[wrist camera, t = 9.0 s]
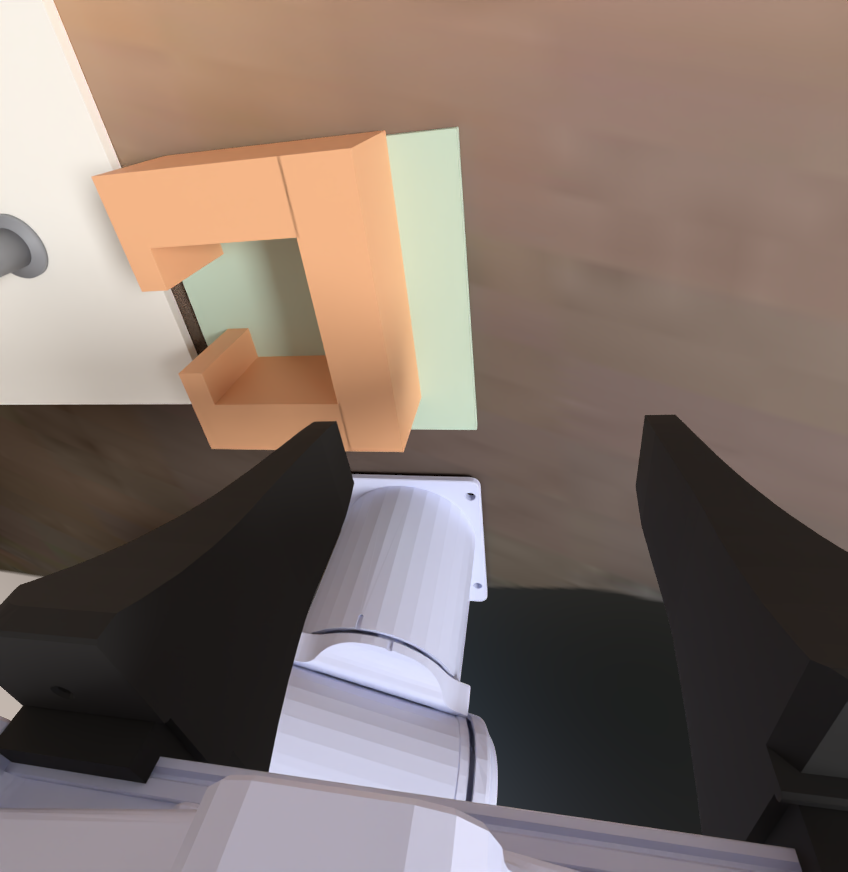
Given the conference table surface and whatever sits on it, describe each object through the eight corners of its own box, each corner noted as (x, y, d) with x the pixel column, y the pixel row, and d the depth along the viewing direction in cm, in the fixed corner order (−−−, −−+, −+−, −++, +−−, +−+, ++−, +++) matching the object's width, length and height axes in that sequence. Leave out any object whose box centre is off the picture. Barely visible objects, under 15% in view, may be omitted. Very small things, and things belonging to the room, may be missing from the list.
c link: (252, 398, 25) (211, 448, 22) (165, 155, 19) (90, 176, 16) (421, 397, 23) (403, 452, 20) (385, 130, 17) (351, 148, 14)
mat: (477, 424, 24) (476, 429, 24) (243, 423, 26) (239, 427, 26) (458, 126, 17) (457, 128, 17) (142, 162, 19) (136, 164, 19)
